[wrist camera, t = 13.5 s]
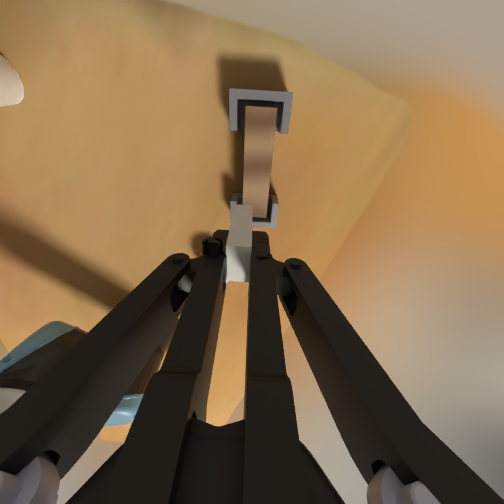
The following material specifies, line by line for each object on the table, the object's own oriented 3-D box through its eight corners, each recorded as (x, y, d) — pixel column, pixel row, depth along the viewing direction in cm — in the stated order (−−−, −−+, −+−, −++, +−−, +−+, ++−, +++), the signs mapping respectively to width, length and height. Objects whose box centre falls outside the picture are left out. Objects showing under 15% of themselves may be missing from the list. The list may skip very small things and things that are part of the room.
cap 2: (273, 217, 40) (275, 228, 36) (233, 215, 39) (230, 225, 36) (276, 194, 37) (278, 203, 33) (232, 192, 37) (230, 201, 33)
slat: (265, 206, 38) (266, 217, 34) (243, 205, 38) (242, 216, 34) (274, 108, 29) (277, 107, 25) (247, 106, 29) (245, 105, 25)
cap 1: (232, 91, 29) (229, 88, 25) (288, 95, 29) (293, 92, 25) (232, 128, 31) (229, 130, 28) (284, 131, 31) (287, 133, 28)
